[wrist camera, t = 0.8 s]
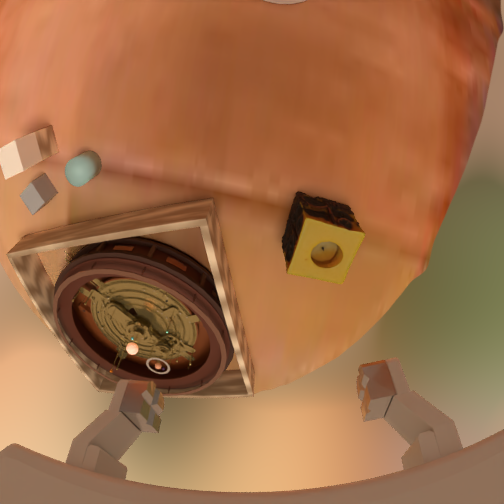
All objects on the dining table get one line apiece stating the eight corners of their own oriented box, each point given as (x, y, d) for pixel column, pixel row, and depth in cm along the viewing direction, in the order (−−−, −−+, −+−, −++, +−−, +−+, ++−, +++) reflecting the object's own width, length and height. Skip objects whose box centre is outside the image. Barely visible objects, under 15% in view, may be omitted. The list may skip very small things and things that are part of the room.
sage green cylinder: (76, 154, 46) (61, 162, 42) (97, 147, 46) (83, 155, 41) (83, 179, 49) (70, 189, 44) (104, 173, 48) (91, 183, 44)
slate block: (33, 186, 49) (19, 195, 45) (45, 173, 48) (31, 182, 43) (45, 204, 51) (32, 215, 47) (58, 192, 50) (44, 202, 46)
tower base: (33, 134, 43) (15, 141, 38) (52, 125, 43) (34, 131, 38) (40, 159, 46) (23, 168, 41) (59, 151, 45) (42, 160, 41)
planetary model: (117, 182, 49) (86, 209, 39) (275, 326, 67) (278, 368, 57) (39, 293, 65) (17, 323, 55) (162, 384, 82) (155, 417, 72)
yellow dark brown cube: (296, 190, 50) (304, 215, 41) (350, 204, 51) (368, 231, 42) (279, 241, 55) (283, 274, 47) (331, 252, 56) (342, 285, 48)
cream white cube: (15, 141, 38) (-4, 150, 34) (34, 131, 38) (14, 139, 33) (23, 168, 41) (5, 179, 37) (42, 160, 41) (23, 170, 36)
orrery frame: (25, 235, 55) (6, 254, 48) (213, 197, 51) (205, 218, 44) (105, 371, 80) (97, 391, 74) (254, 371, 76) (253, 396, 69)
